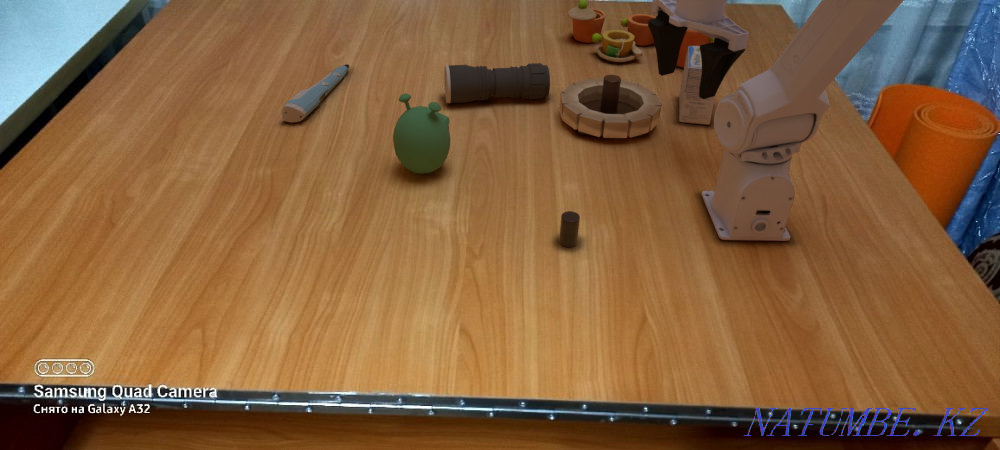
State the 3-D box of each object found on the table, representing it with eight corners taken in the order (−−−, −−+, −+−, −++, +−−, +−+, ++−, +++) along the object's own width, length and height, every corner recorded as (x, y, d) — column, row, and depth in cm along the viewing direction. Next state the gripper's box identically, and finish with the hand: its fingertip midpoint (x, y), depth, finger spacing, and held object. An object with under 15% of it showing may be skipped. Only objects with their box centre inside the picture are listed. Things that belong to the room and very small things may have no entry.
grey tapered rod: (302, 126, 102) (299, 107, 100) (281, 123, 103) (278, 104, 101) (357, 70, 117) (355, 53, 116) (338, 68, 118) (336, 51, 116)
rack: (643, 136, 102) (650, 93, 98) (578, 135, 102) (583, 91, 98) (633, 106, 109) (639, 65, 106) (573, 105, 109) (576, 64, 105)
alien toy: (463, 161, 95) (462, 90, 90) (433, 190, 90) (430, 116, 84) (416, 148, 98) (413, 78, 92) (384, 175, 92) (378, 102, 86)
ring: (666, 139, 100) (668, 123, 98) (563, 137, 99) (565, 121, 98) (649, 93, 111) (651, 78, 109) (556, 92, 111) (558, 77, 109)
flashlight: (544, 88, 114) (546, 55, 110) (551, 104, 109) (554, 70, 106) (444, 93, 111) (443, 59, 108) (447, 109, 107) (447, 74, 104)
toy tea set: (712, 37, 132) (723, -17, 127) (724, 73, 120) (736, 15, 114) (566, 28, 134) (570, -25, 129) (562, 63, 122) (567, 5, 116)
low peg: (577, 247, 81) (580, 221, 79) (559, 247, 81) (562, 221, 79) (576, 236, 83) (578, 211, 81) (558, 236, 83) (560, 210, 81)
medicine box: (709, 126, 105) (721, 69, 100) (677, 122, 106) (687, 65, 101) (708, 102, 111) (719, 47, 106) (678, 98, 112) (687, 44, 107)
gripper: (639, -36, 89) (625, 69, 97) (725, 1, 79) (702, 115, 87) (683, -43, 92) (666, 59, 100) (772, -9, 82) (745, 102, 90)
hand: (686, 84), depth 94 cm, fingers open, 7 cm apart
